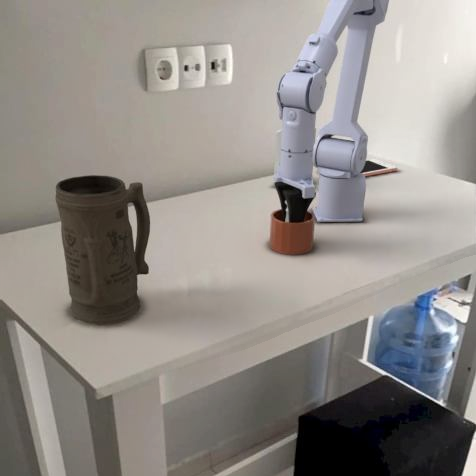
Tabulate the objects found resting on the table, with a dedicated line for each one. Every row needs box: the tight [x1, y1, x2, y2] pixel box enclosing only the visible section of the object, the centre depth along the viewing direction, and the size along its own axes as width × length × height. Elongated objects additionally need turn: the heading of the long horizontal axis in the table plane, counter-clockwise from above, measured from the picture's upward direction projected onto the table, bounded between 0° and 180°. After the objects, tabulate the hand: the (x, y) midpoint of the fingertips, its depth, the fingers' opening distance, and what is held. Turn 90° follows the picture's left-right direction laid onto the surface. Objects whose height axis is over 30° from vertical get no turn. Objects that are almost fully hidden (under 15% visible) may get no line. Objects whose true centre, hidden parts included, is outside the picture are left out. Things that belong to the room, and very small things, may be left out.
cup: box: [269, 208, 316, 256], centre depth 119 cm, size 8×8×6 cm
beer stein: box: [55, 174, 151, 325], centre depth 96 cm, size 15×11×20 cm
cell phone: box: [360, 158, 398, 177], centre depth 159 cm, size 9×18×1 cm, turn 120°
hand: (292, 224), depth 118 cm, fingers closed on rook chess piece, 3 cm apart
